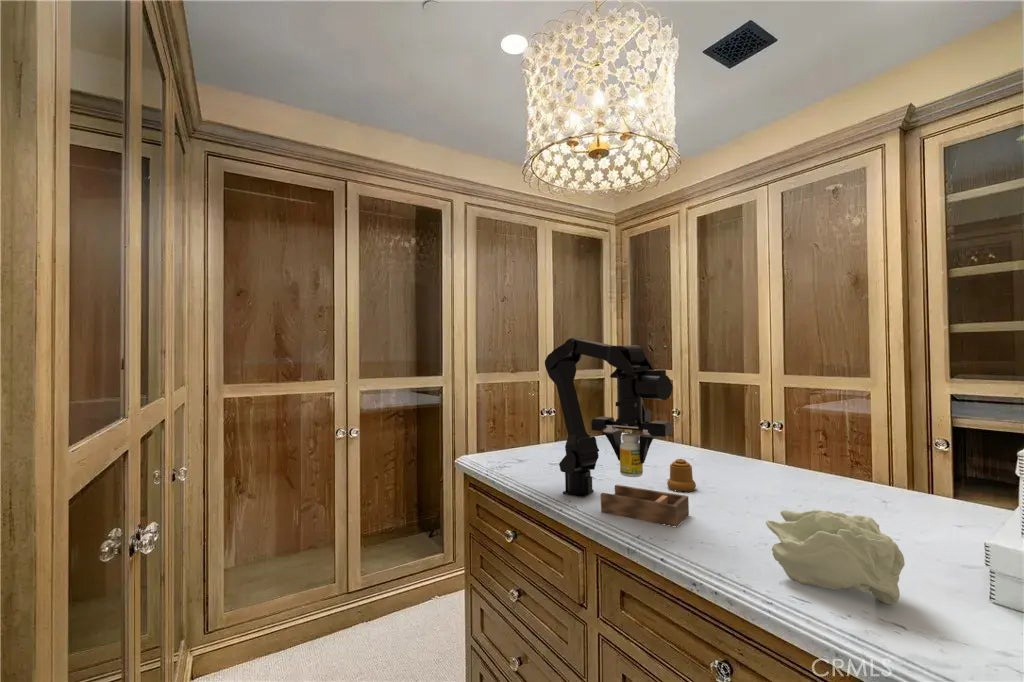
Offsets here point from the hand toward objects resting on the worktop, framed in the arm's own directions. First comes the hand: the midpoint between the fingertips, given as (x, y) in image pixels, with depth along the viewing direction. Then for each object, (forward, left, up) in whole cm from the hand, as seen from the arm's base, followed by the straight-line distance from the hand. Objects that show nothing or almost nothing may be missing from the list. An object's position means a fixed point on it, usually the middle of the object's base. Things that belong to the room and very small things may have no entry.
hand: (631, 461), depth 115 cm
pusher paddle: (+7, 0, -11) cm, 13 cm away
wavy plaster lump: (+41, -17, -12) cm, 46 cm away
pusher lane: (+3, 0, -12) cm, 12 cm away
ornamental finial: (+4, +25, -12) cm, 28 cm away
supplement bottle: (0, 0, -3) cm, 3 cm away
